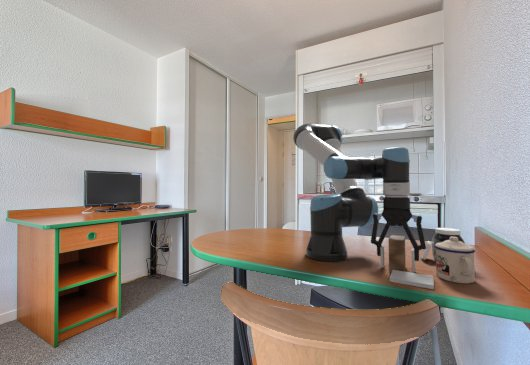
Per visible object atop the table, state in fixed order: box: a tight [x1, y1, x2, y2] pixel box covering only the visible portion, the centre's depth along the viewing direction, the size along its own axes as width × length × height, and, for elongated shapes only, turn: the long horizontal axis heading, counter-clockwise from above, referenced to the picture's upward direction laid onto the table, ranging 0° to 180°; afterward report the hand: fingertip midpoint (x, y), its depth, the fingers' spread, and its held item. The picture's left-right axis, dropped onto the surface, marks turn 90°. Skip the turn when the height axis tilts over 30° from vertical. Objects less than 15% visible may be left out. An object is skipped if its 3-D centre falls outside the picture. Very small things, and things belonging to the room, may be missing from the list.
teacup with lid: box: [435, 237, 476, 285], centre depth 68 cm, size 12×9×12 cm
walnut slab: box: [388, 234, 406, 273], centre depth 77 cm, size 4×8×10 cm, turn 147°
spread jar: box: [420, 227, 466, 263], centre depth 84 cm, size 12×11×12 cm
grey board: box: [389, 270, 435, 290], centre depth 68 cm, size 10×8×1 cm
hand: (397, 268), depth 77 cm, fingers open, 8 cm apart
